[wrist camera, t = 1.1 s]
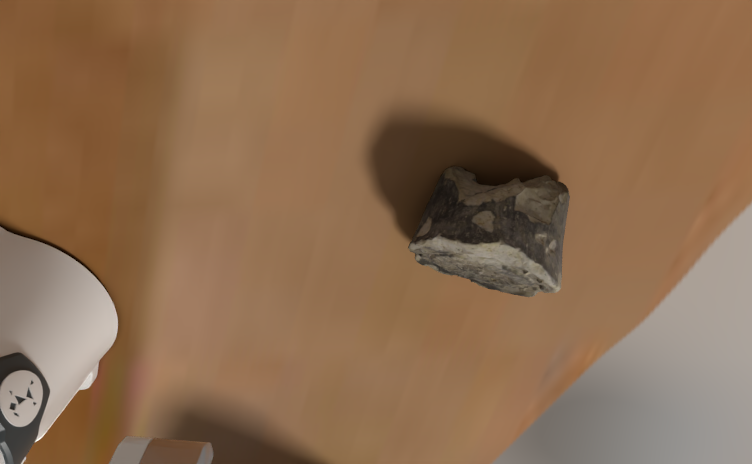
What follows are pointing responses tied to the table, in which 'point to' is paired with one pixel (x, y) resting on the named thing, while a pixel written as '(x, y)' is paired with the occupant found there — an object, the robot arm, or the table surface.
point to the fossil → (495, 232)
